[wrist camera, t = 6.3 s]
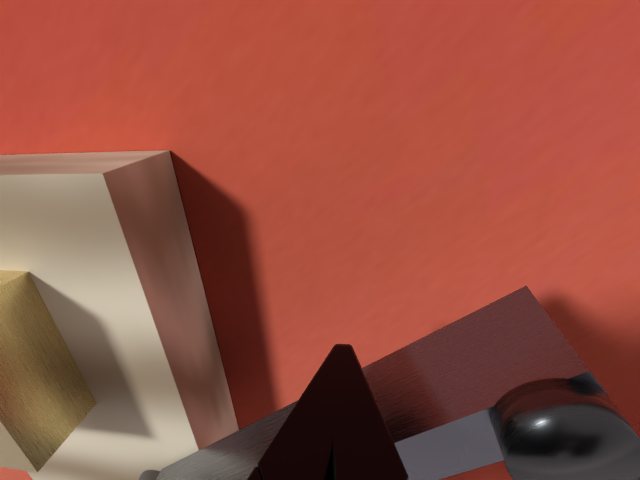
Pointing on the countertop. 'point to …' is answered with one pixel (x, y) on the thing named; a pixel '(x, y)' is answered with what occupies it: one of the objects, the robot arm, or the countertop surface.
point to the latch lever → (473, 406)
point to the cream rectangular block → (119, 306)
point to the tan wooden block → (35, 378)
